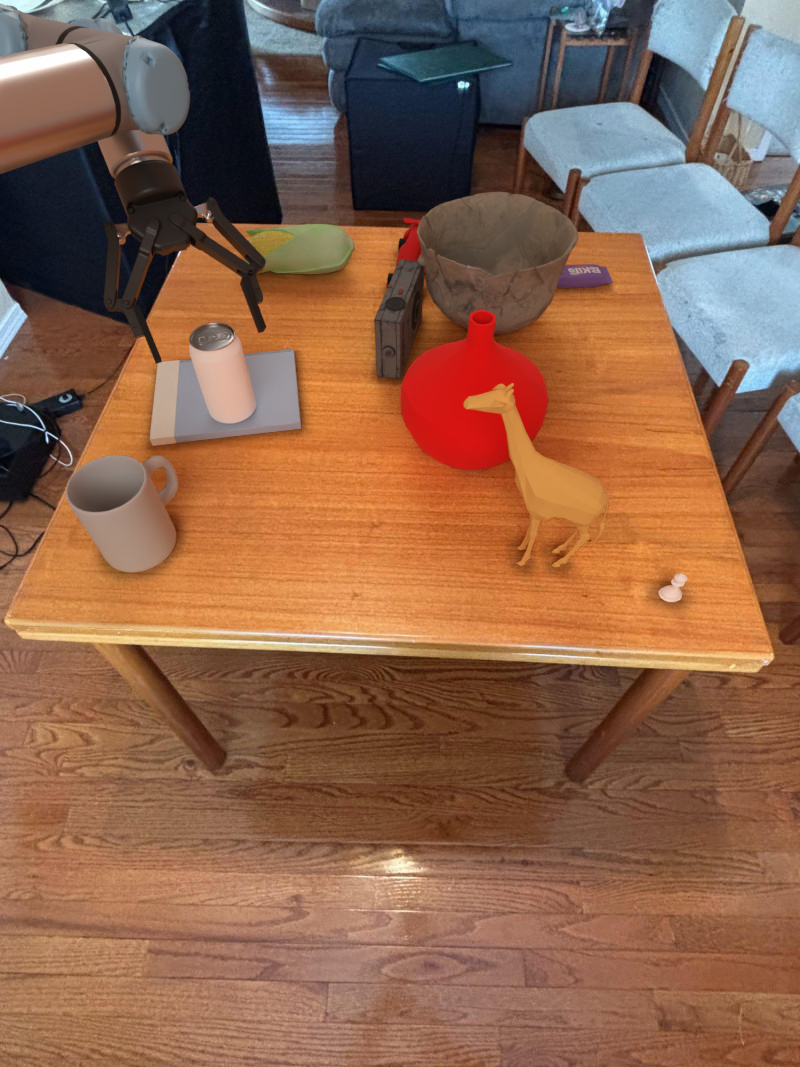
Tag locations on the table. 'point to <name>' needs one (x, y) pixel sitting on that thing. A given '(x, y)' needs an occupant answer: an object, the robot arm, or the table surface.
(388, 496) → the table surface
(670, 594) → the chess pawn
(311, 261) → the corn
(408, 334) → the camera
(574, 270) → the snack package
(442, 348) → the vase
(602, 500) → the giraffe
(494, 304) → the bowl
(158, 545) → the mug
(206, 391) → the can
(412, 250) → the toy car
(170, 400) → the blue flat rectangular slab
